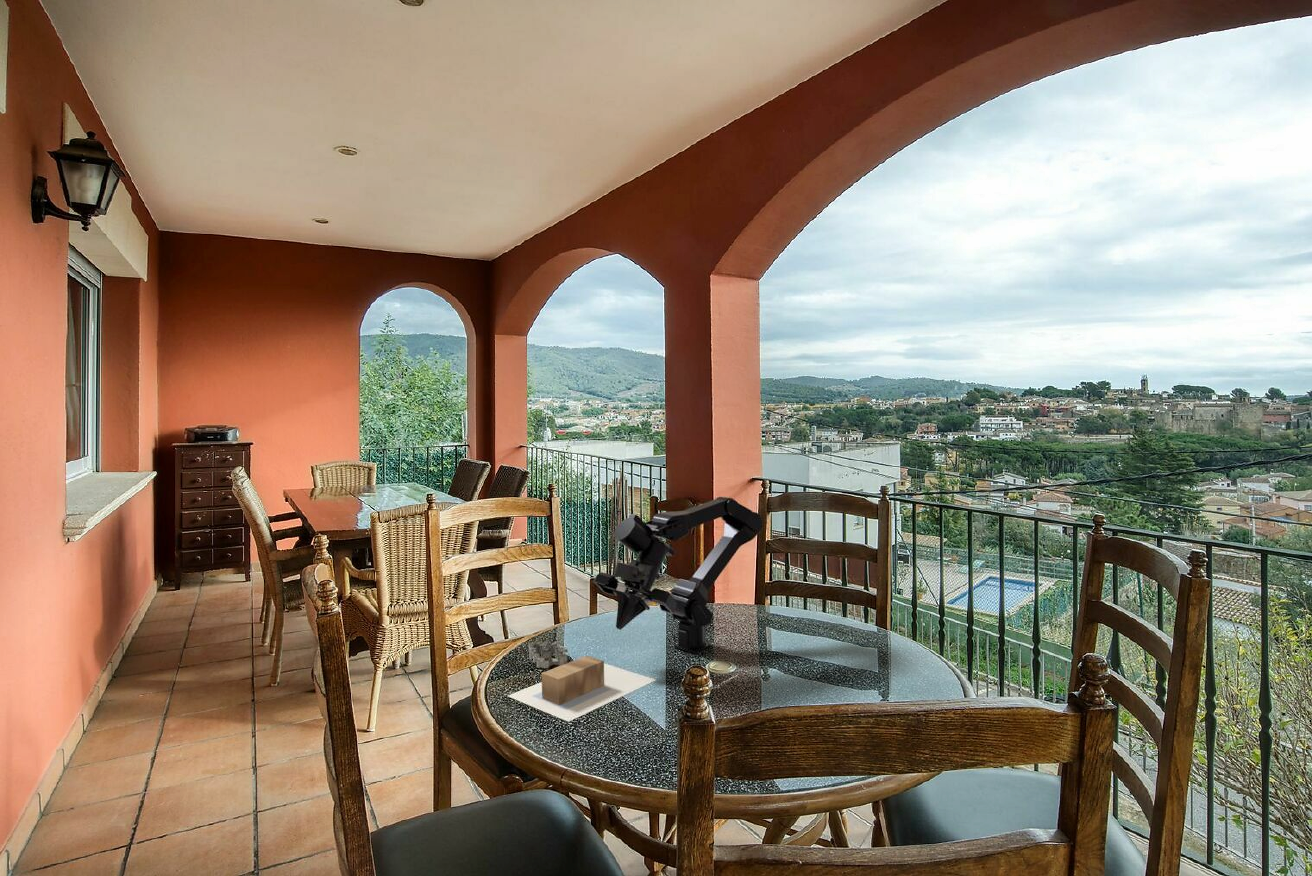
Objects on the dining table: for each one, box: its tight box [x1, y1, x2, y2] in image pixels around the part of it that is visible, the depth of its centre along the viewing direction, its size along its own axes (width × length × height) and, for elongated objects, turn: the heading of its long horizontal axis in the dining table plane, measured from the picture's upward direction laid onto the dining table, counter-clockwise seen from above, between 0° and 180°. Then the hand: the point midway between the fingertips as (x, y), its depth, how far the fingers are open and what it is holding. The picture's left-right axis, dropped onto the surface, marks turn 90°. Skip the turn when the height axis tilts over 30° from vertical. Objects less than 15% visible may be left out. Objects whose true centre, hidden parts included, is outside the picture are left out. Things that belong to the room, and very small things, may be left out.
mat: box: [507, 662, 657, 723], centre depth 138 cm, size 24×18×1 cm
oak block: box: [541, 655, 605, 705], centre depth 136 cm, size 5×5×12 cm
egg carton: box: [527, 640, 569, 669], centre depth 154 cm, size 11×8×4 cm
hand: (618, 628), depth 145 cm, fingers closed
